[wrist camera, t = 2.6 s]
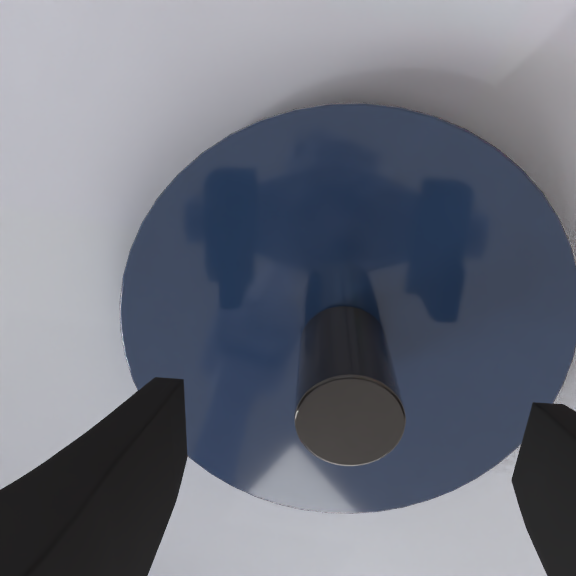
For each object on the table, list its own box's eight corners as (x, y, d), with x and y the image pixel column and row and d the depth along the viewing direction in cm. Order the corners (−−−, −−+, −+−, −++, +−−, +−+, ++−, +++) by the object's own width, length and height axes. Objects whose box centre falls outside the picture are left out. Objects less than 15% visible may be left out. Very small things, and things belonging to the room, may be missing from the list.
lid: (614, 409, 16) (723, 533, 11) (259, 532, 19) (241, 667, 14) (471, -1, 12) (557, -46, 7) (47, 236, 15) (-65, 301, 10)
